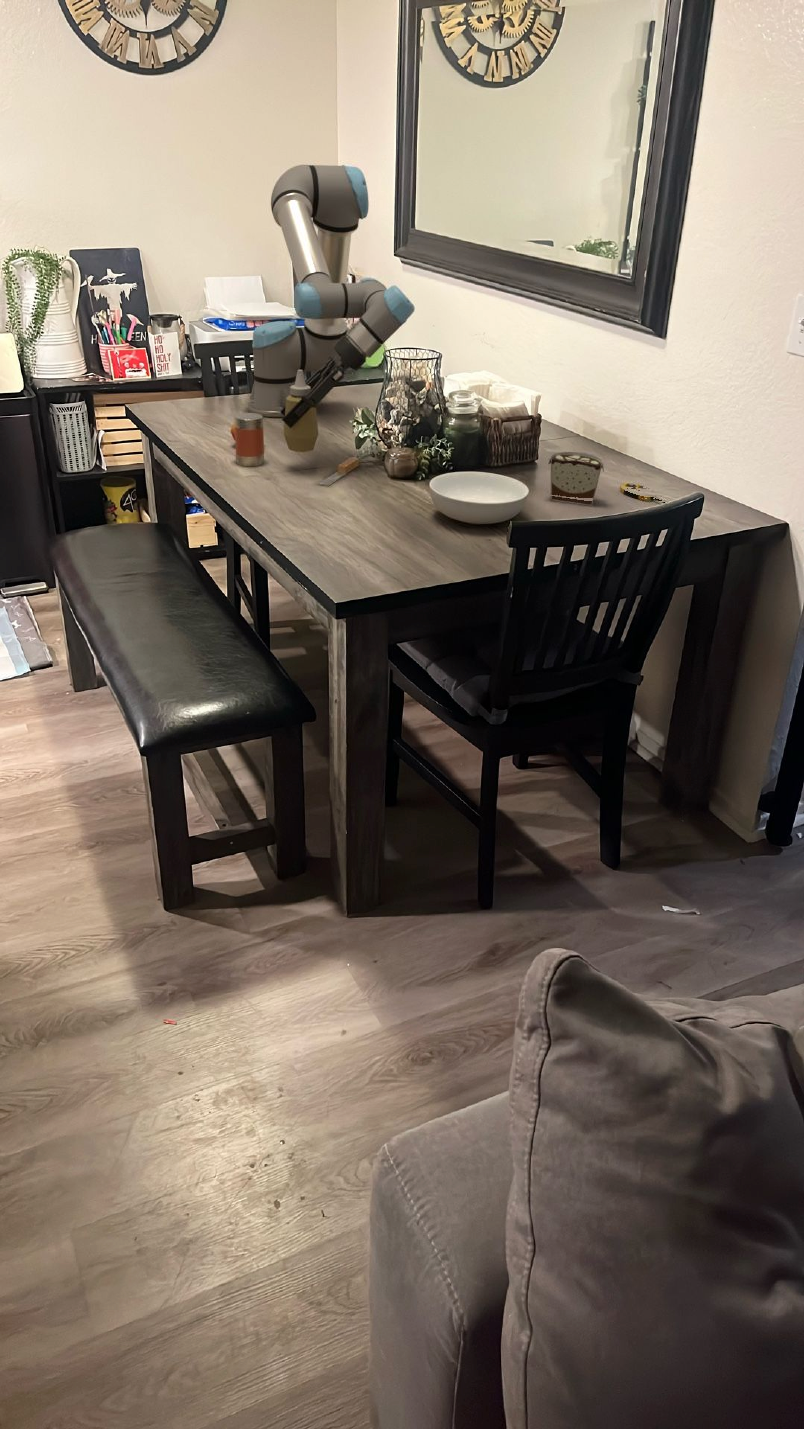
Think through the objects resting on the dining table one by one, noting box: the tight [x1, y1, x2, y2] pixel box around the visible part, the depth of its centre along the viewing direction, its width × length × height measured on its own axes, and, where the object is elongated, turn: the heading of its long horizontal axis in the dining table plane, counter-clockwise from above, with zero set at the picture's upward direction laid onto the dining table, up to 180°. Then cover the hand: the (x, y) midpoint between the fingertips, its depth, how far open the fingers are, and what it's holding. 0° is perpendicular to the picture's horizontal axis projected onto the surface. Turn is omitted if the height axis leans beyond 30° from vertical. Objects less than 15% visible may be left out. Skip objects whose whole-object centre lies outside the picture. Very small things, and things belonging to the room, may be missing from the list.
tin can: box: [233, 412, 265, 467], centre depth 252 cm, size 7×7×11 cm
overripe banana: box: [619, 482, 665, 504], centre depth 241 cm, size 5×2×15 cm
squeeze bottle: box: [283, 370, 319, 453], centre depth 245 cm, size 8×8×18 cm
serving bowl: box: [428, 471, 530, 525], centre depth 225 cm, size 21×21×7 cm
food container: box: [547, 451, 605, 507], centre depth 237 cm, size 12×6×10 cm, turn 71°
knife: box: [318, 456, 360, 487], centre depth 249 cm, size 18×2×2 cm, turn 159°
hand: (285, 419), depth 246 cm, fingers closed on squeeze bottle, 6 cm apart
